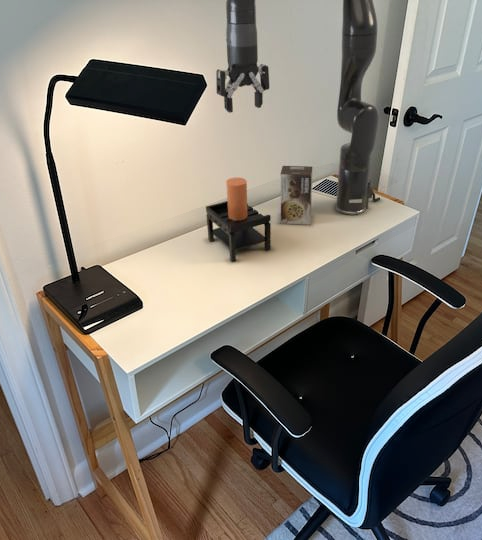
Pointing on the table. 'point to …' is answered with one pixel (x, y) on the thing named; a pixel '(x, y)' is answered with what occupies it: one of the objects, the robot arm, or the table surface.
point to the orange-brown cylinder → (237, 198)
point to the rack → (237, 228)
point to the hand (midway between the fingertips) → (244, 109)
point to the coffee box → (296, 194)
